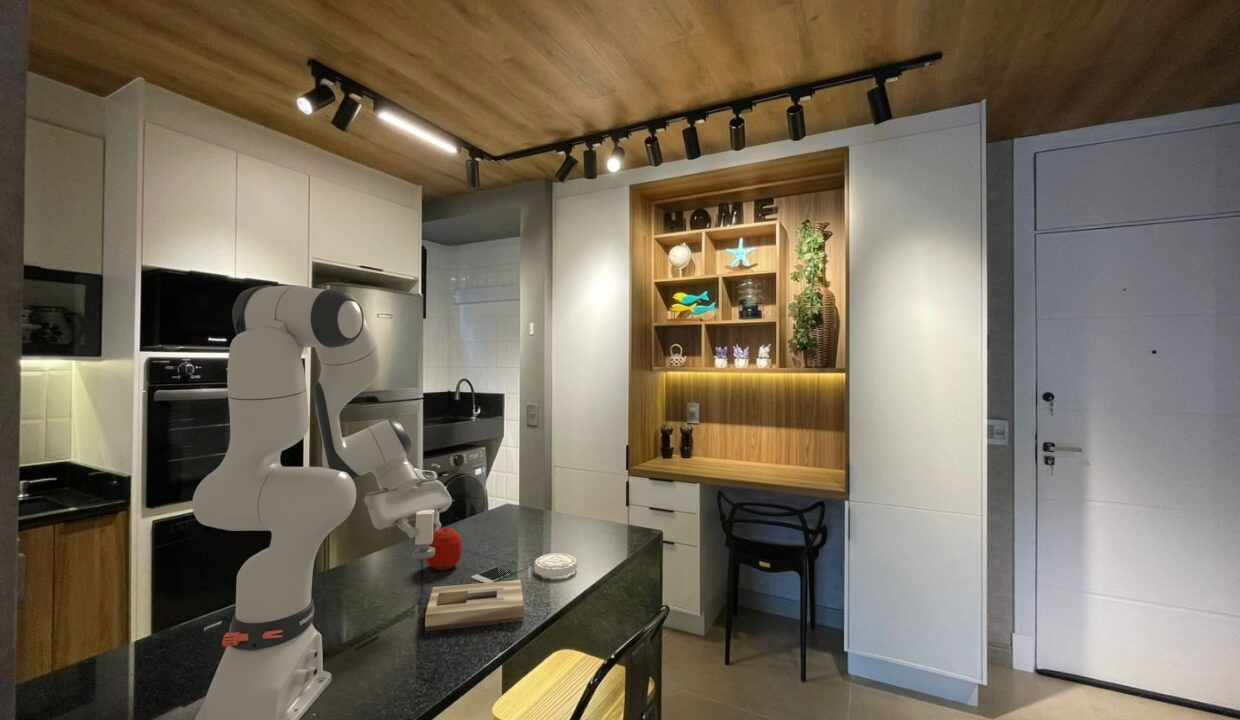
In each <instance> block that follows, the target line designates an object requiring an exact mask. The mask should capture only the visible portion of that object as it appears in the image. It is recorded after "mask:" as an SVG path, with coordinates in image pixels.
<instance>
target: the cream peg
mask: <svg viewBox="0 0 1240 720" xmlns="http://www.w3.org/2000/svg"><path fill="white" fill-rule="evenodd" d="M415 527H416V528H417V530H418V532H419V534H418V535H417V536H416V537H414V545H415V546H417V545H418V547H417V548H415V549H413V551H412V558H413V559H415V560H416V559H417V560H425V559H427V558H431V557H433V556H434V555H435V548H433V547H429V544H432V541H433V533H434V531H433V528H434V510H422V511H419V512H417V513H416V520H415Z"/></svg>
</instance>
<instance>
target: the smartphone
mask: <svg viewBox="0 0 1240 720" xmlns="http://www.w3.org/2000/svg"><path fill="white" fill-rule="evenodd" d="M498 566H499V565H497V566H496V565H495V566H494V567H491V568H489V569H486V570H484V571H481V572H480V573H476V574H474V575H471V577H470V579H471V578H472V579H471V580H474V581H476V580H477V581H476V582H479V581H480V582H479V583H481V582H483V583H490V582H494V581H496V580H498V579H499V578H502V577H503V576H505V575H506V574H507V573H508V572H509V571H510V570H509V569H508V570H509V571H508V572H507V573H506V572H504V571H505V570H504V569H503V570H504V571H503V570H502V569H501V568H500V569H501V570H502V571H503V572H504V573H503V572H502V571H501V570H500V571H501V572H502V573H503V574H502V573H501V572H500V573H501V574H500V573H499V572H498V568H497V567H498ZM510 572H511V571H510ZM510 572H509V573H510ZM509 573H508V574H509ZM499 574H500V575H499ZM508 574H507V575H508ZM501 576H502V577H501ZM496 582H497V581H496Z"/></svg>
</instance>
